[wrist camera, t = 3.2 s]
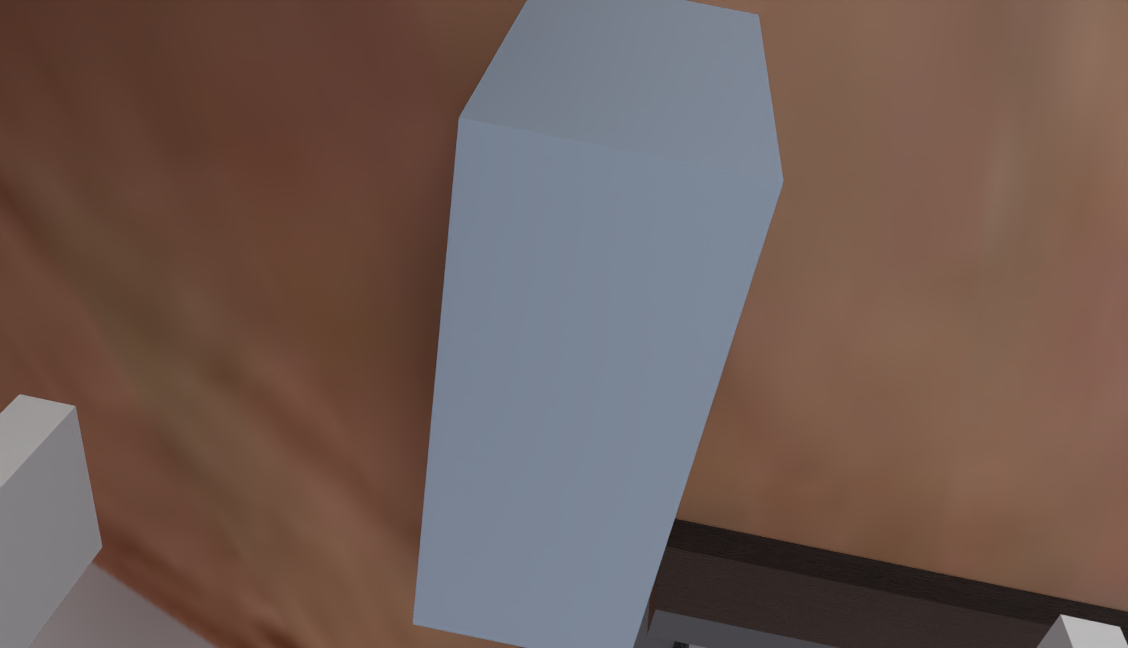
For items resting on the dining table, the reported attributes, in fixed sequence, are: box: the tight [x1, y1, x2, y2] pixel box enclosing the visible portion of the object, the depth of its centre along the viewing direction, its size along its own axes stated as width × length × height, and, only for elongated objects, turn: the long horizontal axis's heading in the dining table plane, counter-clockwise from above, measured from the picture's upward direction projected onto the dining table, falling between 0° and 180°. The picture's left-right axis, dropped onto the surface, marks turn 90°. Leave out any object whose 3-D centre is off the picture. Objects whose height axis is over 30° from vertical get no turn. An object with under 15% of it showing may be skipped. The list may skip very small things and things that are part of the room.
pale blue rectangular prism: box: [413, 0, 784, 648], centre depth 17 cm, size 4×10×7 cm, turn 171°
